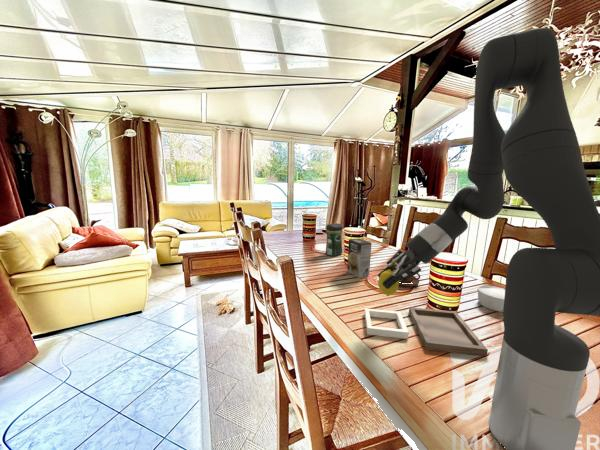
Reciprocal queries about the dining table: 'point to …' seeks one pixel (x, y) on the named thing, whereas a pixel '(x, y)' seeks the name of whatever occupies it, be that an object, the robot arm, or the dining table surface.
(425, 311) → the walnut tray
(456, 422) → the dining table surface
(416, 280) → the cup and saucer
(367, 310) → the holder frame
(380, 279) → the lemon
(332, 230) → the coffee jar
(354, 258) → the coffee box
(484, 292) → the ramekin
